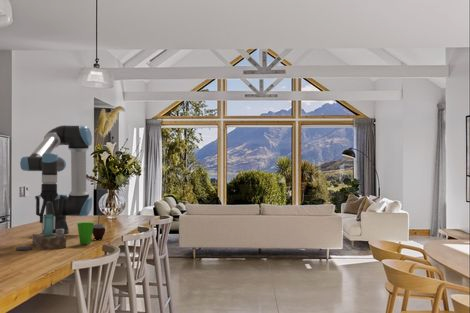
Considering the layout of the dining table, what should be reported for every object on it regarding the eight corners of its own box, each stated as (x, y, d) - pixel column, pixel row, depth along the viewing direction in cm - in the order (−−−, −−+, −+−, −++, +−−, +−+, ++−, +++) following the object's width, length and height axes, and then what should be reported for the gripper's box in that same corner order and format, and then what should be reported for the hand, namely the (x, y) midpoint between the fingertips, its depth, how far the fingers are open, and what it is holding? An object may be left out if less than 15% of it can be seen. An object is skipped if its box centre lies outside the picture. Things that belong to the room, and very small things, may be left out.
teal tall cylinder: (51, 241, 278) (52, 214, 278) (53, 242, 274) (54, 215, 274) (42, 242, 276) (42, 214, 276) (44, 243, 272) (45, 215, 272)
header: (56, 242, 287) (56, 225, 287) (65, 247, 270) (66, 229, 270) (32, 243, 280) (32, 226, 281) (40, 249, 263) (41, 230, 264)
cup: (97, 243, 286) (98, 222, 286) (87, 245, 277) (88, 224, 277) (83, 242, 289) (83, 221, 289) (72, 244, 280) (73, 223, 280)
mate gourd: (98, 238, 307) (99, 211, 307) (108, 239, 303) (109, 212, 303) (88, 239, 301) (89, 212, 301) (99, 240, 297) (99, 213, 297)
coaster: (30, 248, 266) (30, 246, 266) (33, 250, 260) (33, 248, 260) (14, 249, 262) (14, 247, 262) (17, 251, 256) (17, 249, 256)
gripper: (65, 183, 283) (63, 227, 283) (29, 183, 274) (28, 229, 274) (68, 183, 277) (67, 229, 276) (32, 183, 268) (31, 230, 267)
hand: (48, 229), depth 275 cm, fingers closed on teal tall cylinder, 5 cm apart
